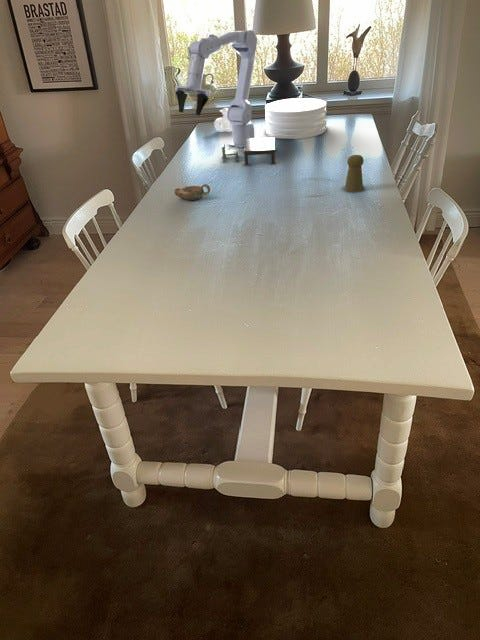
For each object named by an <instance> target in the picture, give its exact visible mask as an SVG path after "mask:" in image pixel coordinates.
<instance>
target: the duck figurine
mask: <svg viewBox="0 0 480 640" xmlns="http://www.w3.org/2000/svg"><path fill="white" fill-rule="evenodd" d="M228 109H229V107H223V108H222V109H219V112H220V113H221V115H222V117H218V118H216V119H214V121H213V125H214V129H215V131H217V132H220V133H221V132H222V133H223V132H232V124H230V121H229V120H228V118H227V111H228Z"/></svg>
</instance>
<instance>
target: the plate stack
mask: <svg viewBox="0 0 480 640" xmlns="http://www.w3.org/2000/svg"><path fill="white" fill-rule="evenodd" d="M327 107H328V106H327V101H326V100H324V99H320V98H313V97H312V98H311V97H310V98H309V97H304V98H303V97H299V98H296V97H295V98H285V99H280V100H275V101H271V102H269V103H267V104H266V105H264V111H265V112H264V114H265V134H266V135H267V136H269V137H275V139H281V140H282V139H283V140H298V139H307V138H312V137H317V136H319V135H322V134H324V133H325V132H327V131H326V130H327Z"/></svg>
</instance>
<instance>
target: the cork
mask: <svg viewBox="0 0 480 640" xmlns="http://www.w3.org/2000/svg"><path fill="white" fill-rule="evenodd" d="M364 160H365V159H364V156H362V155H361V154H351V155H349V156H348V157H347V159H346V163H347V166H348V168H347V174H346V179H345V185H344V190H345V191H347V192H350V193H357V192H361V191H363V190H364V182H363V181H364V180H363V167H362V166H363V165H364Z"/></svg>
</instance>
